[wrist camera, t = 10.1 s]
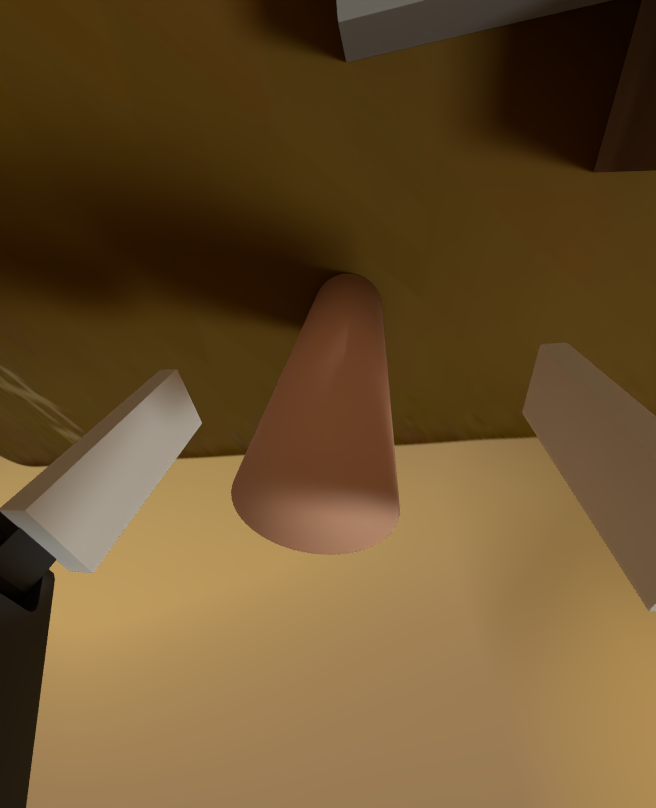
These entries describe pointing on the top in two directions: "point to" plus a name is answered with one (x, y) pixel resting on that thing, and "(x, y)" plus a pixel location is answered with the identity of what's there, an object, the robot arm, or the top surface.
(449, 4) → the grey square frame
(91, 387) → the top surface
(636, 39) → the wall
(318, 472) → the dowel
